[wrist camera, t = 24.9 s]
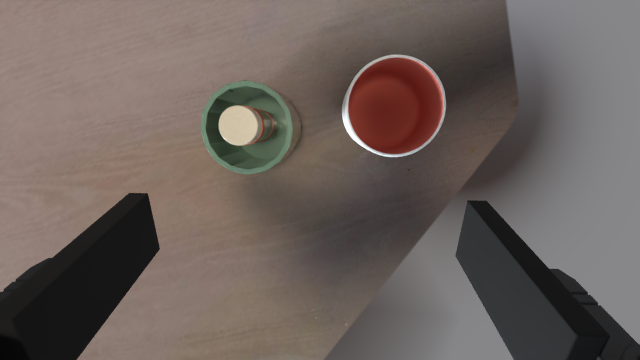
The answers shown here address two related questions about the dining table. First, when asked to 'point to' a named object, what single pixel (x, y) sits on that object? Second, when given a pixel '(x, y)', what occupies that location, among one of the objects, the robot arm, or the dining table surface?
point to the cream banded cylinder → (247, 125)
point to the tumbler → (258, 153)
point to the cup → (394, 106)
